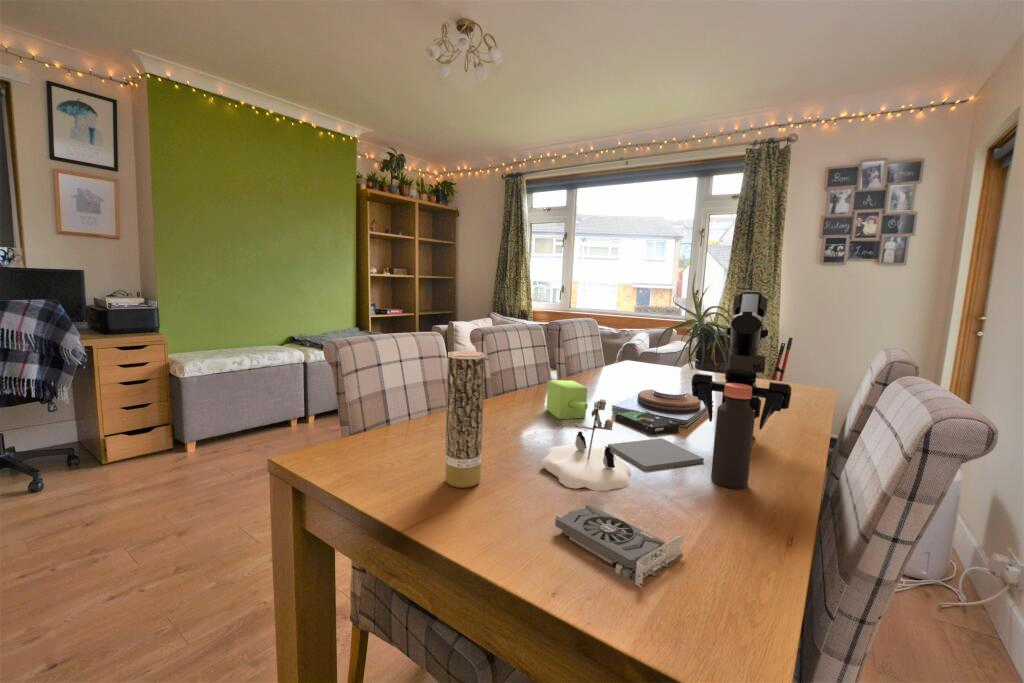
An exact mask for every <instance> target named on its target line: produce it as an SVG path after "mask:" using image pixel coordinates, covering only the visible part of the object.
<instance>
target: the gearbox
mask: <svg viewBox="0 0 1024 683" xmlns="http://www.w3.org/2000/svg"><path fill="white" fill-rule="evenodd" d="M546 393H547V394H546V396H547V397H546V410H547V411H548V412H549V413H551V415H553V416H554V417H556V418H557V419H559V420H570V419H571V420H573V419H581V418H586V416H587V415H586V414H587V413H586V412H587V411H588V407H589V406H588V404H589V403H587V399H588V388H587V387H586V386H584V385H583V384H581V383H579V382H576V381H575V380H559V379H558V380H548V381H547V392H546Z"/></svg>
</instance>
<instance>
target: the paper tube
mask: <svg viewBox="0 0 1024 683" xmlns="http://www.w3.org/2000/svg"><path fill="white" fill-rule="evenodd" d="M447 354H448V355H447V372H446V373H447V377H446V415H445V416H446V421H445V422H446V426H445V474H444V475H445V477H444V479H445V482H446V484H448V485H449V486H451V487H454V488H459V489H460V488H462V489H465V488H466V489H467V488H473V487H474V486H476V485H478V484H479V482H480V481H481V477H482V451H483V450H482V449H483V448H482V447H483V446H482V444H483V418H484V414H483V411H484V409H483V408H484V384H485V383H484V381H485V380H484V379H485V353H484V352H481V351H474V350H455V351H454V350H453V351H449V352H447Z"/></svg>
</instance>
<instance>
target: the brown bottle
mask: <svg viewBox="0 0 1024 683" xmlns="http://www.w3.org/2000/svg"><path fill="white" fill-rule="evenodd" d="M724 395H725V396H724V397H725V402H724V403H723V404H722V403H721V404H719V406H717V411H716V420H715V431H714V432H715V433H714V442H713V452H712V464H711V474H710V475H711V476H710V478H711V481H713V483H714V484H716V485H718V486H720V487H723V488H726V489H732V490H742V489H745V488H747V487H748V485H749V477H750V476H749V475H750V468H751V457H752V449H753V440H754V439H753V436H754V428H755V419H756V418H755V412H754V411H755V410H753V409H752V408H751V407H750V406H749V401H751V397H752V387H751V386H749V385H745V384H740V383H726V384H725V388H724Z"/></svg>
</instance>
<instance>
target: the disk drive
mask: <svg viewBox="0 0 1024 683" xmlns="http://www.w3.org/2000/svg"><path fill="white" fill-rule="evenodd" d="M642 410H643V411H645V412H636V410H629V411H624V412H616V414H615V415H614V417H615V418H614V419H615V421H616V422H618V423H620V424H623V425H626V426H628V427H630V428H633V429H635V430H637V431H640V432H642V433H644V434H647V435H649V436H655V435H662V434H669V433H674V432H679V430H680V423H678V422H677V421H674V420H671V419H667V418H665V417H663V416H660V415H657V414H654V413H651V412H649V411H646V410H644V409H642Z"/></svg>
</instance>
